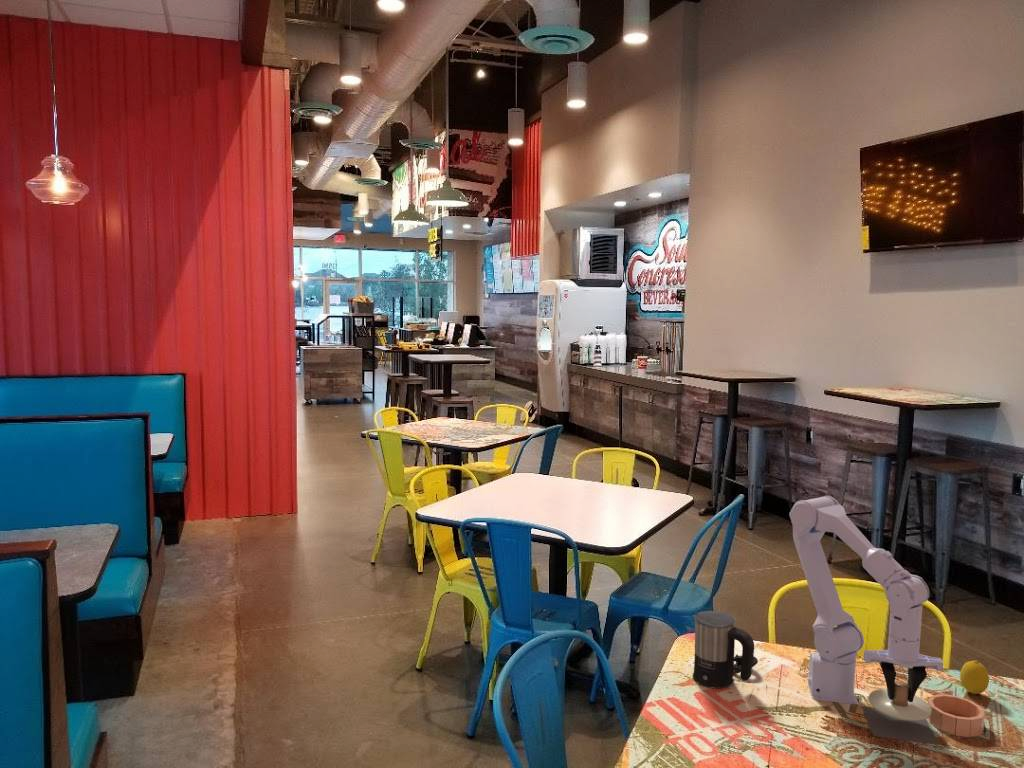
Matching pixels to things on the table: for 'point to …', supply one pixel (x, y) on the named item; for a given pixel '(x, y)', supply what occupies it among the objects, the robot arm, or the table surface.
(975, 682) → the lemon
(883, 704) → the lid
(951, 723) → the bowl
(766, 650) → the table surface
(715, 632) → the milk frother
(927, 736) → the mat
